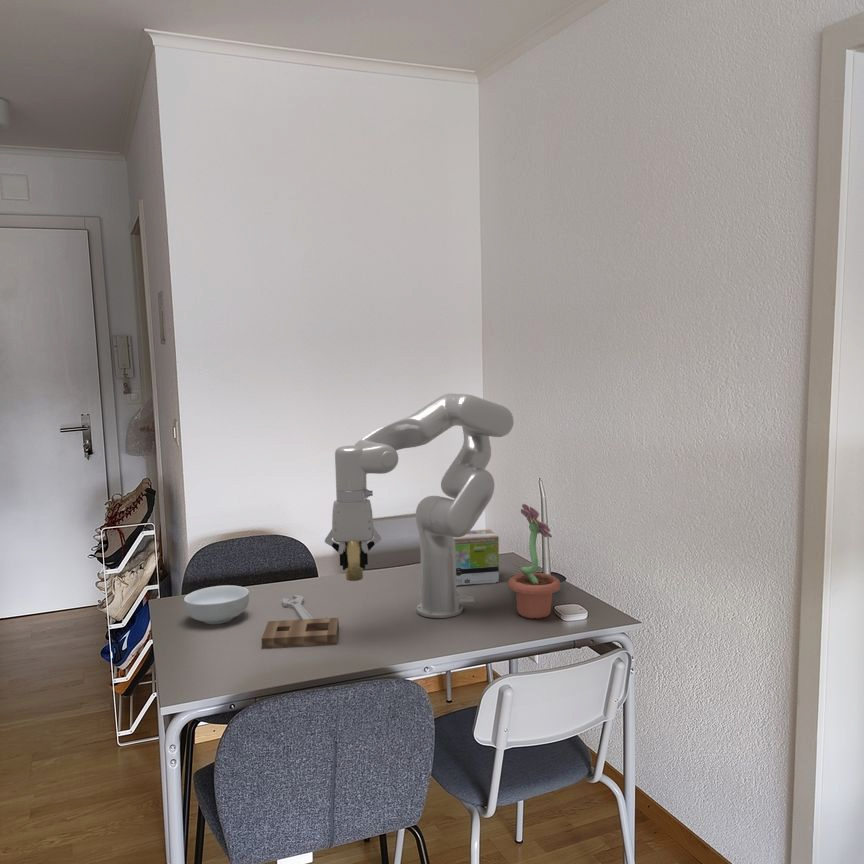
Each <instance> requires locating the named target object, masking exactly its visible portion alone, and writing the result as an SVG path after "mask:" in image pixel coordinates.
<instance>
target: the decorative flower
mask: <svg viewBox="0 0 864 864" xmlns="http://www.w3.org/2000/svg"><path fill="white" fill-rule="evenodd" d="M520 513H521V514H522V515H523V516H524V517H525V518H526V520H527V522H528V525H529V526H528V528H529V531H530V534H529V542H528V544H529V545H528V547H529V548H528V549H529V555H530V559H531V565H530V566H523V567H520V566H517V565H516V564H514V563H512V565H513V566H515V567H516V568H520V572H521V573H517V574H514V575H512V576H510V578H509V579H508V581H507V586H508V589H510V590H511V591H513V592H515V594H516V595H515V597H516V609H517V613H518V614H519V615H520V616H521V617H524V618H526V619H534V618H536V619H543V617H544V618H547V617H548V616H549V615H550V614H551V610H552V602H553V601H552V600H553V593H557V592H558V591H560V590H561V585H562V584H561V581H560V579H558V577H557V576H554V575H551V574H548V573H544V572H543V573H542V571H541V570H540V567H539V558H538V553H537V545H536V544H537V537H538V535H540V534H541V536H543V537H544V538H548V537H549V538H552V537H553V536H552V534H551V533H550V532H551V530H550V528H549V526H548V525H547V523H545V522H542V521H540V520H539V519H538V518H539V516H540V513H539V511H538V510H536V509H535V508H534V507H532V506H529V504H526V503H522V505H521V509H520ZM537 571H538V572H537Z"/></svg>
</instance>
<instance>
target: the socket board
mask: <svg viewBox="0 0 864 864" xmlns="http://www.w3.org/2000/svg"><path fill="white" fill-rule="evenodd" d="M339 627H340V621H339V617H324V618H313V619H302V620H301V619H287V620H284V619H283V620H271V621H270V620H269V621H268V622H267V624H266V626H265V629H264V631H263V633H262V636H261V649H277V648H278V649H279V648H280V649H281V648H293V647H294V648H297V647H315V646H331V645H337V644H338V635H339Z"/></svg>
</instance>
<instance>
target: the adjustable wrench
mask: <svg viewBox="0 0 864 864" xmlns="http://www.w3.org/2000/svg"><path fill="white" fill-rule="evenodd" d="M304 603H305V598H304V596H302V595H296V594H295V595H292V599H289V598H286V597H283V598H282V600H281V605H282V608H288V609H292V610H293V611H294V613H296V615H297V616H298V618H299V620H302V619H314V618H313V617H312V615H310V613H309V612H308V611H307V609H306V608H304V606H303V605H304Z"/></svg>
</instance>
